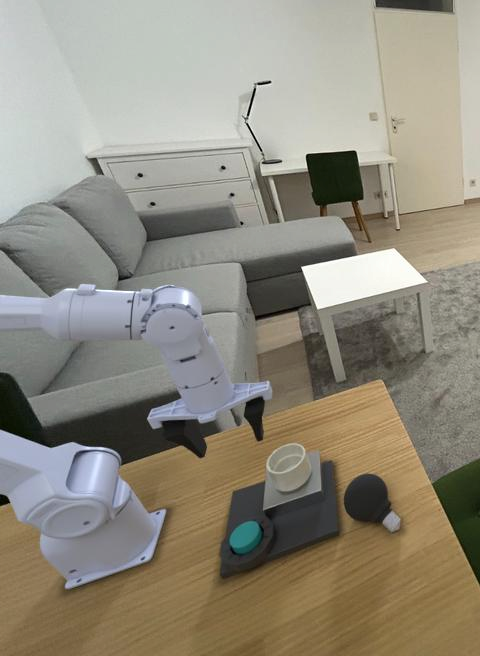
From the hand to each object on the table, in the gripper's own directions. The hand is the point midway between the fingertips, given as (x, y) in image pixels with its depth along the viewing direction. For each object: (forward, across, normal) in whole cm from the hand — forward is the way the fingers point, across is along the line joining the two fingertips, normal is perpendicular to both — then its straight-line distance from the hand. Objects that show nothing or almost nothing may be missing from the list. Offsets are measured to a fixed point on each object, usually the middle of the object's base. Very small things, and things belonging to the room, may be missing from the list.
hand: (232, 444), depth 59 cm
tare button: (+8, +1, -11) cm, 14 cm away
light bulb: (+11, +18, -12) cm, 24 cm away
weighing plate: (+10, +7, -4) cm, 13 cm away
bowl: (+6, +7, -4) cm, 10 cm away
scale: (+10, +5, -7) cm, 13 cm away
